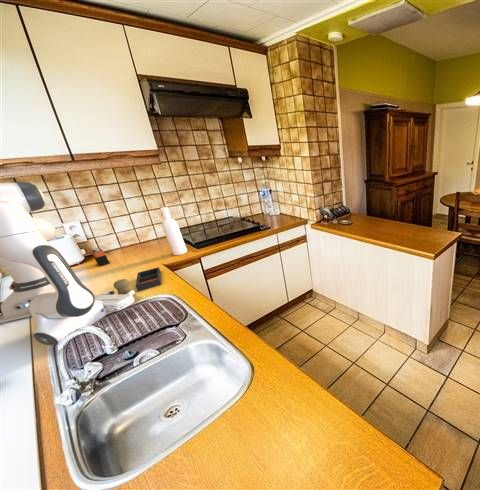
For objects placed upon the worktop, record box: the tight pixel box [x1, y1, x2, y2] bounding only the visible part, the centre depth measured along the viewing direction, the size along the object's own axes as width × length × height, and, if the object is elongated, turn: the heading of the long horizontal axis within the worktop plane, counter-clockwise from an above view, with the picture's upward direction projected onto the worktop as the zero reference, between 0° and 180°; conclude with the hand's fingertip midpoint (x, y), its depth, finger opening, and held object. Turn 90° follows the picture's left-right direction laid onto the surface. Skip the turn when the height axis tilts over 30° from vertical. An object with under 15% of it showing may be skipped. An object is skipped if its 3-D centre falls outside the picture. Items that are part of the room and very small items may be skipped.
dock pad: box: [135, 266, 162, 292], centre depth 137 cm, size 9×18×3 cm, turn 36°
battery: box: [90, 247, 110, 267], centre depth 160 cm, size 4×7×10 cm, turn 56°
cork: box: [113, 278, 139, 305], centre depth 118 cm, size 6×6×11 cm
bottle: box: [159, 206, 188, 256], centre depth 165 cm, size 8×8×30 cm
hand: (122, 291), depth 117 cm, fingers open, 8 cm apart
